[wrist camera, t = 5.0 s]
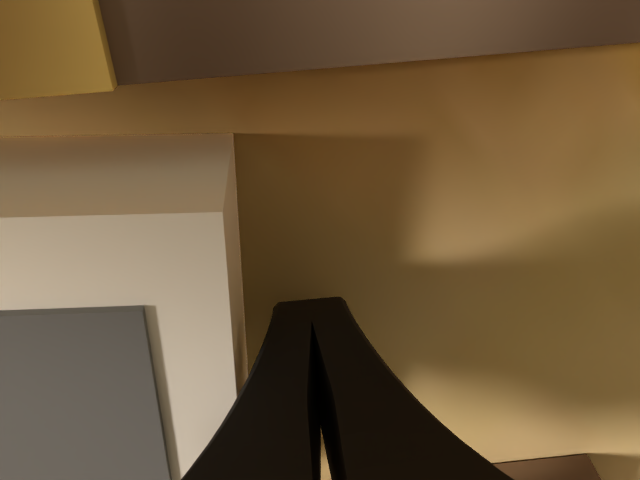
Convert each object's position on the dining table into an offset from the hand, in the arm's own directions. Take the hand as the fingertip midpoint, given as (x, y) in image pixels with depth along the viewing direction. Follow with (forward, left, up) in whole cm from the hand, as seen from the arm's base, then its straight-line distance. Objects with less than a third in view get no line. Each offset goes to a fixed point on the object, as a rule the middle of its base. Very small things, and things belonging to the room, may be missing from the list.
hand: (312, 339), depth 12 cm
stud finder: (+4, 0, -1) cm, 4 cm away
